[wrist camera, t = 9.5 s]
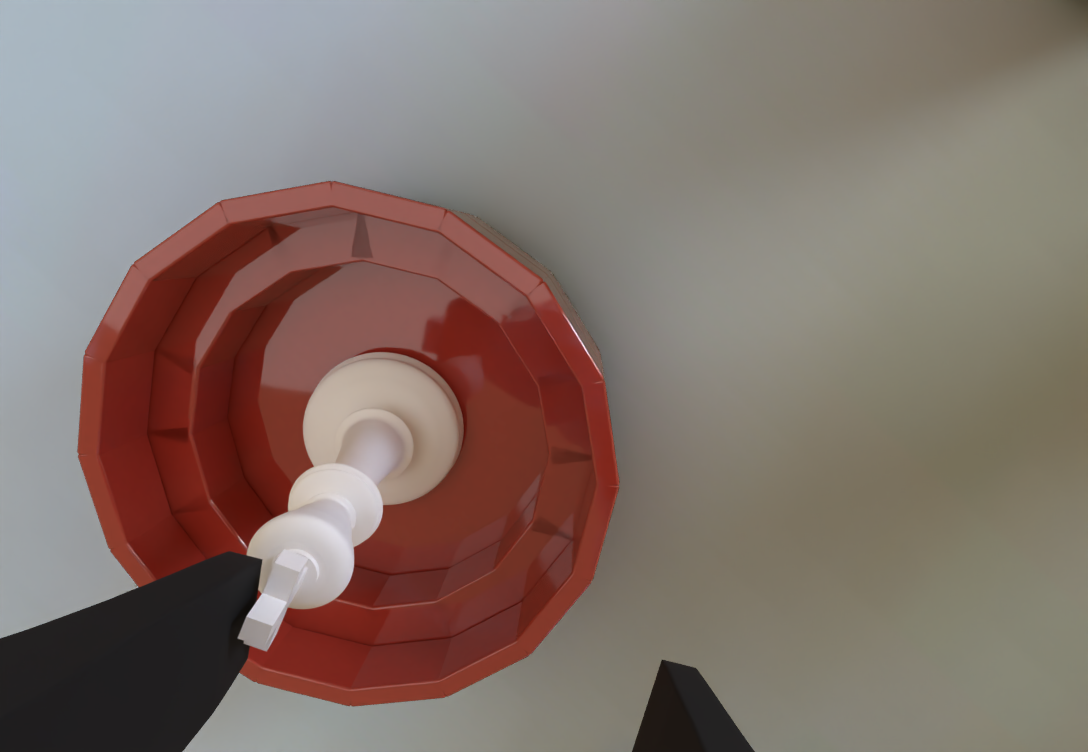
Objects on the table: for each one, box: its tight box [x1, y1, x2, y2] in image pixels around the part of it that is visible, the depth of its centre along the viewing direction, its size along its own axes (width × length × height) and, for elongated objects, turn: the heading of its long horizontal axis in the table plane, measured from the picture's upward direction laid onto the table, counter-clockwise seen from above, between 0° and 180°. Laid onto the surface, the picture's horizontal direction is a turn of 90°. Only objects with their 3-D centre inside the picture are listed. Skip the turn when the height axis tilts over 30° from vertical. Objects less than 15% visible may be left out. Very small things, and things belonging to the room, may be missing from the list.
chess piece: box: [238, 352, 464, 652], centre depth 15 cm, size 5×5×10 cm
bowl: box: [77, 181, 620, 706], centre depth 18 cm, size 14×14×4 cm
